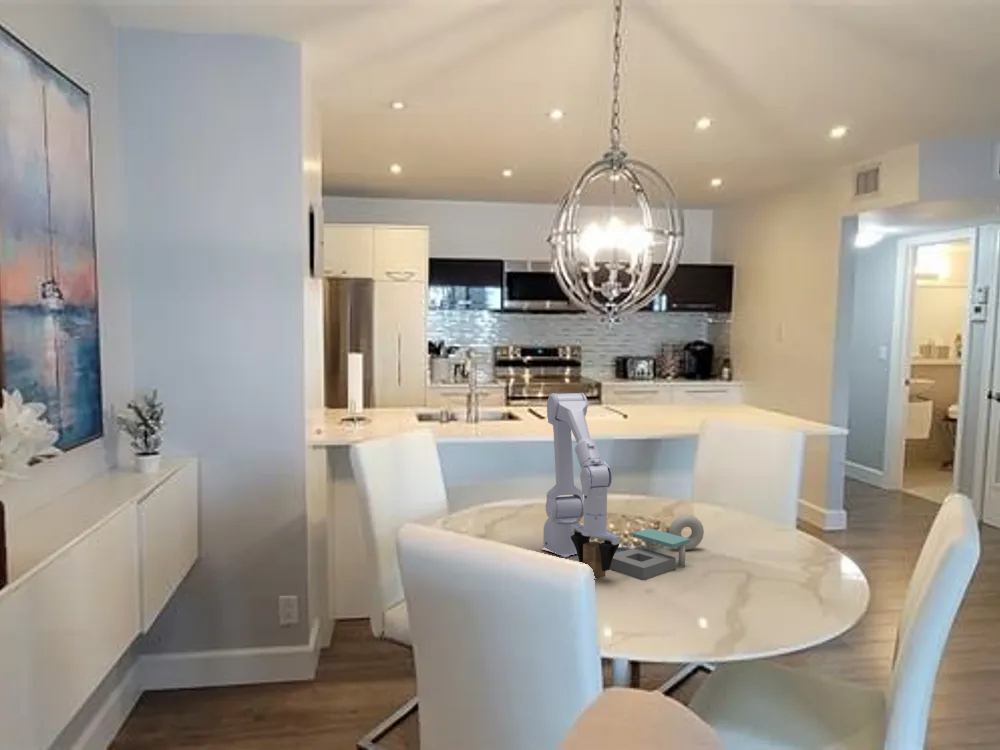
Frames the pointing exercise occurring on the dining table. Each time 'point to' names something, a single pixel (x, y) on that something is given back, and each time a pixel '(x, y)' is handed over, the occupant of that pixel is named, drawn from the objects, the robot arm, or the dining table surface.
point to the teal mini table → (664, 541)
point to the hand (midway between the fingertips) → (594, 566)
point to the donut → (695, 528)
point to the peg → (593, 558)
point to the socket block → (642, 563)
